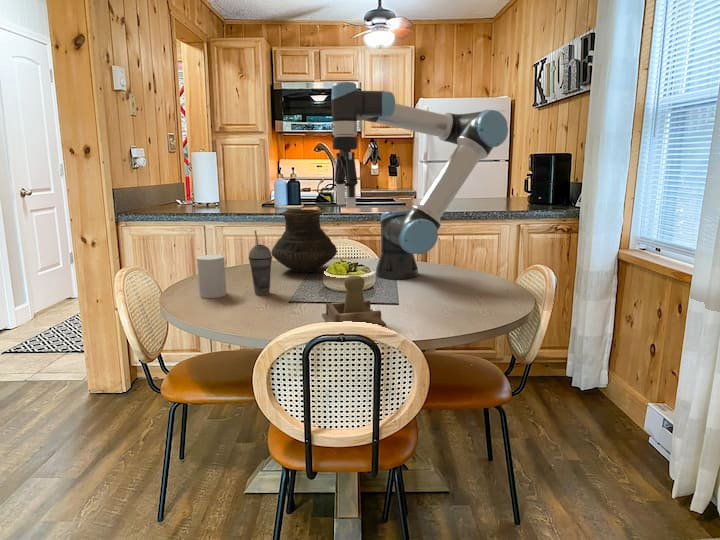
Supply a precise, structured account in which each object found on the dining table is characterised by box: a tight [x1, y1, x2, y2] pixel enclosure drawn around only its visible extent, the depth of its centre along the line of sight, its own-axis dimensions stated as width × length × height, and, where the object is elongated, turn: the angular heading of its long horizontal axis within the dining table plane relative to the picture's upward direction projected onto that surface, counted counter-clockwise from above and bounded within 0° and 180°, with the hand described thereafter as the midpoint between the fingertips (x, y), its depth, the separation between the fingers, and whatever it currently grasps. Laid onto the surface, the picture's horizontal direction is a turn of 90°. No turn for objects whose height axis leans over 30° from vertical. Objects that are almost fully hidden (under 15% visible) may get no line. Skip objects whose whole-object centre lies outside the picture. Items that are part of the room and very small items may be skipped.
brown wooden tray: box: [321, 299, 387, 327], centre depth 133 cm, size 14×13×4 cm
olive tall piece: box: [343, 275, 365, 313], centre depth 132 cm, size 6×6×11 cm
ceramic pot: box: [270, 208, 338, 273], centre depth 192 cm, size 24×24×22 cm
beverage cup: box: [248, 229, 273, 296], centre depth 159 cm, size 7×7×20 cm
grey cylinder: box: [196, 254, 227, 299], centre depth 159 cm, size 8×8×12 cm
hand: (345, 206), depth 160 cm, fingers open, 13 cm apart
